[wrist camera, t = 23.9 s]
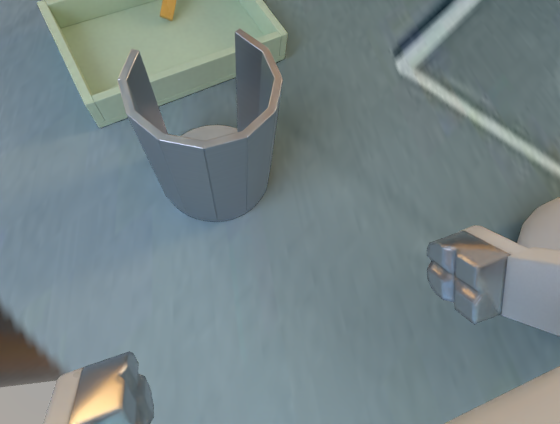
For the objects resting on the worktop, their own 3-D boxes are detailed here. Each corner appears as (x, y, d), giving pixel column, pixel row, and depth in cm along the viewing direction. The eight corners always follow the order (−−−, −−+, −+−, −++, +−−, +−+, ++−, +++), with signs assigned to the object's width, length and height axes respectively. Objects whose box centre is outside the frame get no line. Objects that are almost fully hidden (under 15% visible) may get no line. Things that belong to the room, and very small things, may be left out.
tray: (99, 128, 25) (85, 105, 23) (53, 31, 28) (36, 1, 26) (284, 59, 29) (288, 33, 27) (227, -20, 32) (226, -49, 30)
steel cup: (283, 203, 24) (304, 122, 16) (178, 236, 23) (139, 165, 14) (249, 119, 26) (251, 10, 18) (151, 143, 25) (105, 36, 17)
